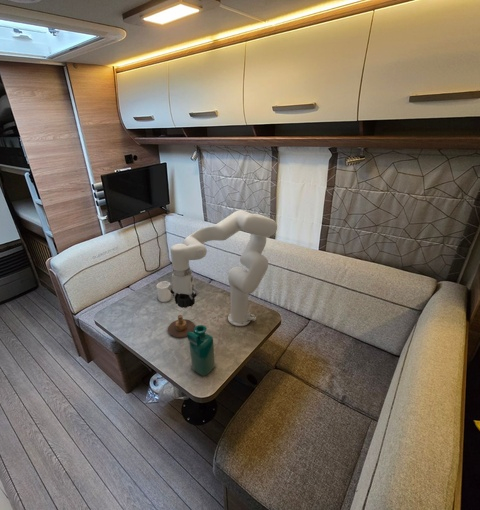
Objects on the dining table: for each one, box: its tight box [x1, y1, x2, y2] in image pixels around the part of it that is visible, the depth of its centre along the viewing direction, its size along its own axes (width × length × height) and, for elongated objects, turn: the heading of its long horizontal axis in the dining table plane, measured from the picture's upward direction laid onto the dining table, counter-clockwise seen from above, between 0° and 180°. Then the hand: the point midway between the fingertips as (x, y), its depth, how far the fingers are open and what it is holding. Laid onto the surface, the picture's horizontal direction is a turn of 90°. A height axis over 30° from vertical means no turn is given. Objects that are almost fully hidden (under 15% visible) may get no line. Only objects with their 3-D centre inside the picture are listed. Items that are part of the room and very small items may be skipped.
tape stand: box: [167, 314, 196, 339], centre depth 148 cm, size 14×14×8 cm
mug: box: [155, 281, 172, 303], centre depth 176 cm, size 12×8×10 cm
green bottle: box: [186, 324, 216, 377], centre depth 120 cm, size 10×8×22 cm
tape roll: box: [177, 293, 191, 309], centre depth 132 cm, size 7×7×4 cm
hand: (185, 303), depth 133 cm, fingers closed on tape roll, 7 cm apart
